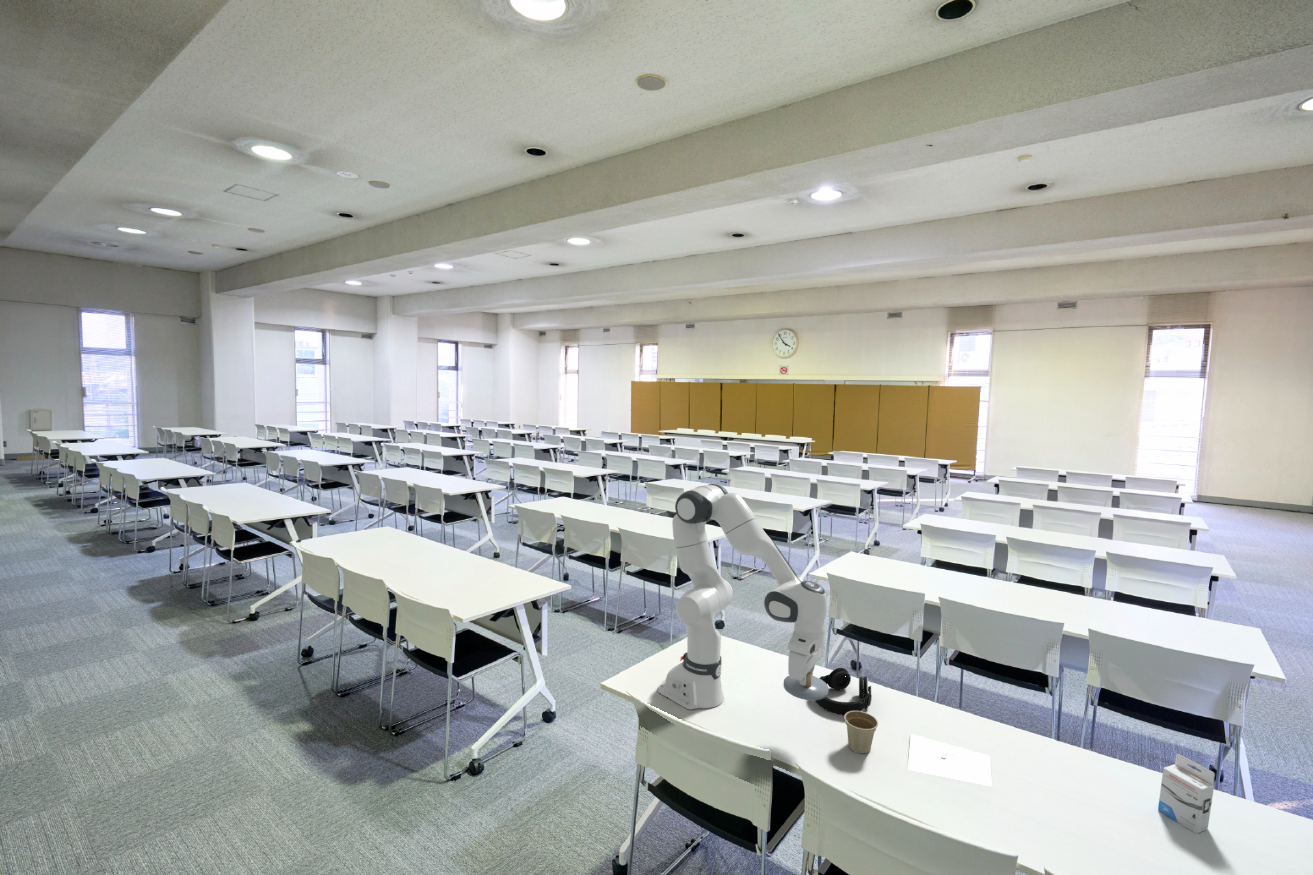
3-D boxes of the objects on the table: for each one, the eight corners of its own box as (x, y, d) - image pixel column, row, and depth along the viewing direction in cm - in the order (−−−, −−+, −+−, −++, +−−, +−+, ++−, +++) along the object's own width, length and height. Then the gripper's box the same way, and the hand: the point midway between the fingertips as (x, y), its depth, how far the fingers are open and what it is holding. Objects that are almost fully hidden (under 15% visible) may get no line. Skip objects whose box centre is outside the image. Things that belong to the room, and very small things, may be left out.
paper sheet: (999, 761, 170) (1000, 758, 170) (992, 828, 146) (992, 824, 146) (911, 733, 183) (911, 729, 183) (891, 790, 159) (891, 786, 159)
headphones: (881, 675, 201) (857, 706, 186) (881, 696, 202) (857, 728, 188) (831, 659, 213) (804, 686, 198) (831, 678, 214) (805, 707, 199)
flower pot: (878, 759, 170) (880, 731, 169) (844, 754, 172) (846, 726, 171) (873, 740, 179) (875, 712, 178) (841, 735, 181) (842, 708, 180)
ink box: (1156, 809, 152) (1163, 755, 150) (1168, 805, 154) (1175, 751, 152) (1196, 834, 144) (1203, 777, 142) (1209, 829, 146) (1216, 772, 144)
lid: (776, 689, 176) (777, 675, 176) (793, 672, 187) (794, 658, 187) (819, 705, 169) (820, 690, 169) (834, 686, 180) (835, 672, 179)
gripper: (811, 622, 186) (808, 664, 188) (785, 646, 170) (782, 691, 171) (831, 627, 183) (828, 670, 185) (806, 652, 166) (803, 699, 168)
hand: (805, 681), depth 178 cm, fingers closed on lid, 3 cm apart
